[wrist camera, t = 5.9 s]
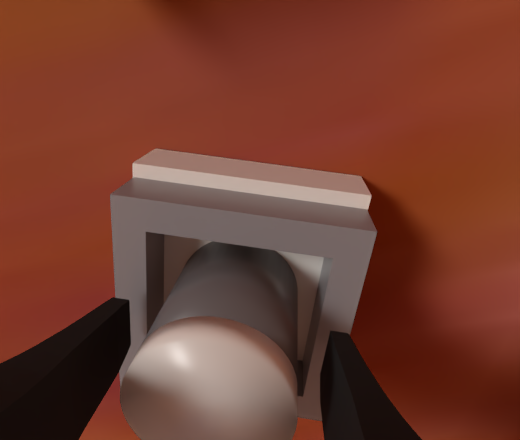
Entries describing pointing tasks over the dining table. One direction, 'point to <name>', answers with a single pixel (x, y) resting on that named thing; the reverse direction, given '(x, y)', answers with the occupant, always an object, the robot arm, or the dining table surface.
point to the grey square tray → (244, 241)
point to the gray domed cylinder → (219, 352)
